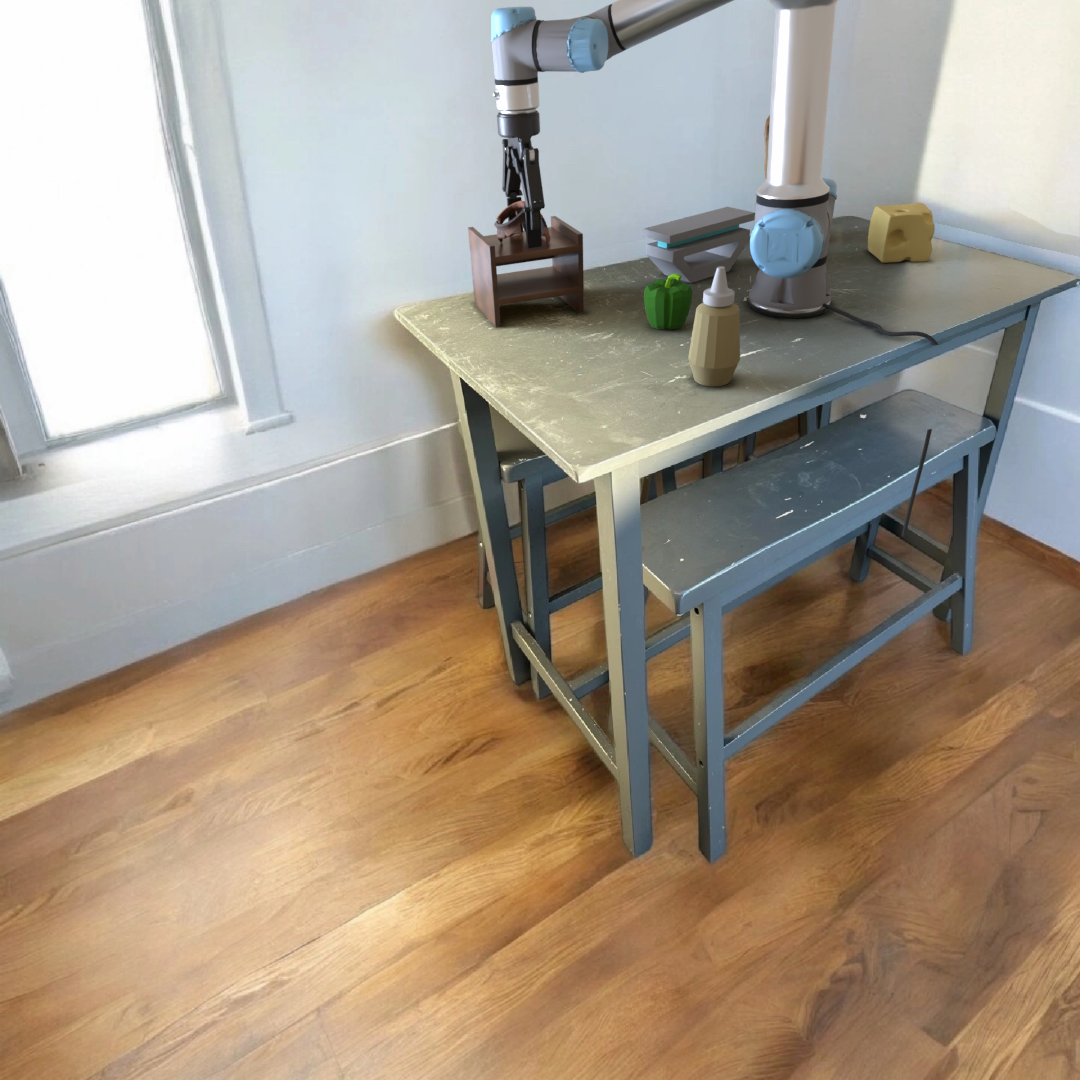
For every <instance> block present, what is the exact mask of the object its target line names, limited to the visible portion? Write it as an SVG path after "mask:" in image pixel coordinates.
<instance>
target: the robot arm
mask: <svg viewBox="0 0 1080 1080" xmlns="http://www.w3.org/2000/svg"><path fill="white" fill-rule="evenodd" d="M733 1H734V2H735V0H616V1H614V2H612V3H610V4H608V5H605V6H604V7H601V8H600V9H598V10H595V11H593V12H592V13H589V14H587V15H582V16H579V17H578V16H577V17H573V18H565V19H551V20H550V19H549V20H548V19H547V20H544V19H542V20H541V19H537V16H536V10H535V8H534V7H533V6H507V7H498V8H496V9H494V10H493V11H492V13H491V17H490V21H491V24H490V25H491V27H490V29H491V31H490V33H491V38H490V43H491V50H492V62H493V63H492V64H493V72H494V73H493V74H494V89H495V91H493V92H492V97H493V98H495V103H496V109H497V110H498V111H499V112H498V113H497V114H496V123H497V135H498V136H499V137H501V138H503V139H502V141H501V144H502V181H501V182H502V186H501V189H502V192H503V193H504V194H505V198H506V205H507V206H506V208H507V207H508V206H509V205H511V204H513V203H515V202H518V201H523V200H522V196H523V198H524V201H525V203H526V207H525V208H524V209H523V212H525V223H526V242H527V248H534V247H541V246H542V237H541V215H540V213H541V211H542V209H545V207H546V204H545V198H544V190H543V182H542V173H541V167H540V150H539V148H538V147H535V148H534V147H533V145H532V140H531V139H532V137H536V136H537V135H539V134H540V132H541V120H540V119H541V118H540V112H539V111H538V110H537V109H538V108H539V107H540V88H539V87H540V86H539V76H538V74H539V73H546V72H557V73H558V72H564V73H565V72H566V73H569V72H571V73H572V72H574V73H575V72H577V73H581V74H584V73H589V72H597V71H600V70H601V69H603V68H604V66H605V64H606V61H608V60H611V58H612V57H615V56H616V55H618V54H620V53H623V52H625V51H627V50H629V49H631V48H633V47H635V46H637V45H639V44H642V43H644V42H645V41H646V42H647V41H649V40H651V39H652V38H655V37H657V36H659V35H662V34H663V33H666V32H668V31H671V30H672V29H674V28H677V27H679V26H681V25H683V24H686V23H687V22H691V21H692V20H694V19H697V18H699V17H701V16H703V15H705V14H708V13H710V12H712V11H714V10H716V9H718V8H721V7H723V6H725V5H727V4H729V3H731V2H733ZM767 1H768V3H769V4H770V5H771V6H772V7H773V10H774V12H775V13H774V31H773V49H772V51H773V52H772V66H771V67H772V68H771V69H772V70H771V85H770V86H771V88H770V104H769V105H770V106H769V107H770V108H769V115H770V124H769V143H768V162H767V179H766V178H765V181H763V183H762V184H761V185H760V186H759V187H758V189H757V190H756V196H755V197H756V198H755V212H754V213H755V220H754V227H753V229H752V231H751V233H750V237H749V251H750V255H751V258H752V260H753V262H754V264H755V265H756V266H757V268H759V270H758V272H757V274H756V276H755V279H754V281H753V284H752V287H751V288H750V290H749V294H748V300H747V305H748V307H749V308H750V309H751V310H753V311H755V312H757V313H759V314H762V315H765V316H770V317H775V318H783V319H801V318H802V319H803V318H811V317H816V316H819V315H823V314H824V313H826V312H828V311H832V312H834V313H836V314H838V315H840V316H844V317H845V318H847V319H850V320H852V321H854V322H855V323H859V324H861V325H864V326H868V327H872V328H874V329H875V328H876V329H877V330H878V332H879V333H880V334H882V335H885V336H888V337H908V336H909V337H911V336H912V337H913V336H915V337H916V336H917V337H921V338H925V339H926V340H928V342H930V343H931V344H932V345H934V346H938V345H939V343H938V342H937V340H936V339H935V338H934V337H933V336H931V335H930V334H928V333H926V332H923V331H916V330H915V331H914V330H913V331H912V330H910V331H889V330H885V329H884V328H883V327H882V326H881V325H880V324H878V323H876V322H873V321H870V320H869V321H868V320H864V319H862V318H859V317H857V316H855V315H853V314H851V313H849V312H846V311H844V310H842V309H839V308H837V307H835V306H833V305H831V303H832V302H831V301H832V294H831V293H832V291H831V288H830V282H829V276H828V271H827V261H828V252H829V247H830V240H831V232H832V225H833V219H834V212H835V205H836V200H837V199H838V195H837V189H838V185H837V183H836V181H835V180H833V179H831V178H826V177H825V178H824V177H822V169H823V168H822V167H823V159H824V158H823V157H824V147H825V146H824V145H825V133H826V122H827V111H828V109H827V108H828V97H829V88H830V87H829V86H830V77H831V76H830V74H831V63H832V52H833V42H834V41H833V40H834V30H835V29H834V28H835V17H836V5H838V2H839V1H840V0H767ZM515 217H516V211H515V212H514V214H512V215H511V216H509V217H508V218H507V222H508V221H510V220H512V219H513V218H515ZM523 231H524V228H523V226H522V224H521V232H522V233H523ZM749 275H750V276H749V284H751V283H752V282H751V281H752V276H751V274H749ZM932 432H933V428H930V429H927V430H926V435H925V440H924V444H923V448H922V453H921V455H920V456H921V457H920V461H919V464H918V467H917V472H916V476H915V478H914V479H915V480H914V483H913V487H912V491H911V494H910V499H909V503H908V506H907V510H906V515H905V519H904V523H903V529H902V533H901V537H902V538H906V537H907V533H908V527H909V523H910V519H911V515H912V509H913V506H914V504H915V499H916V495H917V491H918V487H919V484H920V480H921V476H922V473H923V468H924V464H925V460H926V458H927V457H926V456H927V453H928V449H929V445H930V440H931V435H932Z"/></svg>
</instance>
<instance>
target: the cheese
mask: <svg viewBox="0 0 1080 1080" xmlns="http://www.w3.org/2000/svg"><path fill="white" fill-rule="evenodd" d="M933 219H934V217H933V212H932V210H931V209H930V208H929V207H928V206H927V205H926V204H925V203H923V202H910V203H904V204H903V203H901V204H889V205H888V204H887V205H886V204H885V205H884V204H883V205H875V206H874V208H873V212H872V215H871V218H870V221H869V222H870V223H869V228H868V235H867V250H868V252H869V253H871V254H872V255H873V256H874V257H876V259H878V261H880V263H884V264H886V263H887V264H888V263H901V262H903V261H910V262H928V261H929V260H930V258H931V256H932V252H933V245H932V244H933V243H932V239H933V237H934V235H935V230H936V227H935V223H934V220H933Z"/></svg>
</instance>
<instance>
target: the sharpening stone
mask: <svg viewBox="0 0 1080 1080" xmlns="http://www.w3.org/2000/svg"><path fill="white" fill-rule="evenodd" d="M755 213H756V212H754V211H749V210H744V209H740V208H735V207H731V206H724V207H721V208H717V209H713V210H709V211H706V212H702V213H698V214H694V215H690V216H687V217H686V216H685V217H682V218H678V219H675V220H670V221H668V222H663V223H660V224H656V225H652V226H648V227H644V228H642V237H643V238H646V239H650V240H654V241H653V242H649V243H647V244H646V249H645V255H646V256H647V257H648V259H649V260H650V261H651V262H652V263H653V264H654V265H655V266H656V267H657V268H658V269H659V270H660V272H661V273H663V275H665V276H667V277H668V276H670V275H671V274H673V273H674V274H679V275H681V276H682V277H681V279H680V281H682V282H686V283H690V284H692V283H696V282H699V281H702V280H705V279H708V278H711V277H714V276H715V273H716V269H717V267H719V266H722V267H725V272H726V273H727V272H728V273H729V272H730V270H731V269H732V268H733V266H734V264H735V263H736V262H737V260H738V258H739V257H740V255H741V254H742V252H743V251H744V249H745V247H746V246H747V245H748V243H749V242H750V236H751V229H748V228H744V227H740V225H742V224H746V223H749V222H753V221H754V222H755Z"/></svg>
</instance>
